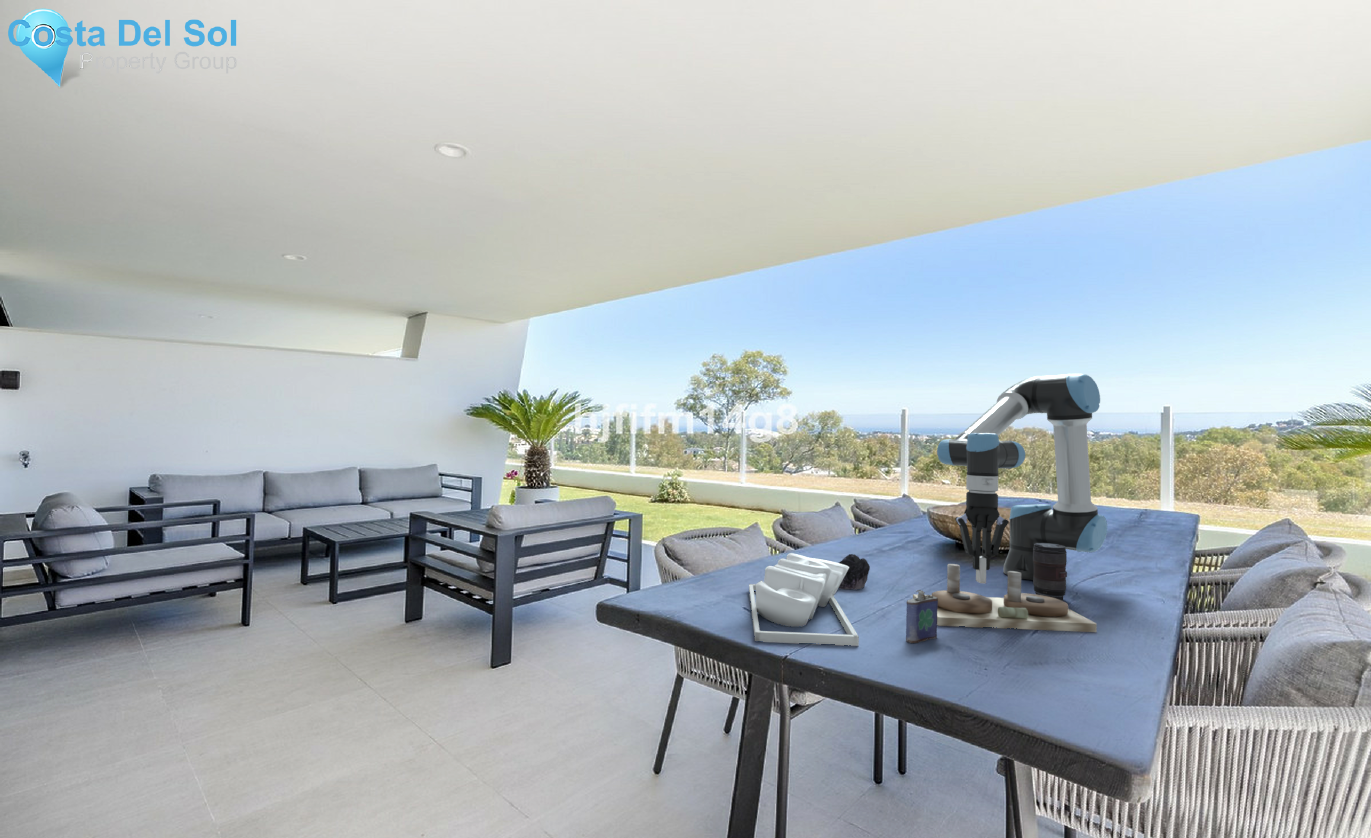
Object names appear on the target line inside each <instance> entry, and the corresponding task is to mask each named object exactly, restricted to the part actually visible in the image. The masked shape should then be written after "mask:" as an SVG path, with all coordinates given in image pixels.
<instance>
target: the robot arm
mask: <svg viewBox="0 0 1371 838" xmlns="http://www.w3.org/2000/svg"><path fill="white" fill-rule="evenodd" d="M1098 387H1099V386H1098V385H1097V383H1096V381H1095V380H1094V379H1093V378H1092V377H1091V376H1089V375H1088V374H1083V373H1067V374H1057V375H1036V376H1033V377H1032V376H1031V377H1029V378H1025V379H1023V380H1021V381H1018V382H1017V383H1015V384H1013V385H1011V386H1010V387H1008V388H1007V389H1006V390H1005V391H1003V392H1002V393H1001V394H1000V395H999V396H998V398H997V400H996V403H995V404H993V405H992V406H990V408H989V409H987V410H986V411H985V412H984V413H983V414H982V415H981V416H979V417H978V418H977V419H976V420H975V421H973V423H971V424H970V425H969V426H968V427H967V428H965V430H964V431H962V432H961V433H960V434H959V435H958V436H956V438H954V439H952V438H947V439H942V440H941V441H940V442H939V443H938V446H937V449H936V454H937V459H938V461H939V462H941V464H943V465H948V466H953V467H955V466H959V467H961V466H963V467H966V487H965V488H966V490H968V491H966V493H965V494H966V496H965V500H966V503H965V506H966V507H965V510H964V512H963V514H961V516H956V517H955V522H956V523H957V525H958V526H959V531H960V536H961V539H962V544H963V548H964V552H965V553H966V554H968V555H969V556H972V568H973V569H974V570H975V581H976V582H977V583H979V584H987V571H989V570H990V569H991V561H990V560H991V559H992V557H995V556H998V555H999V551H1000V546H1001V543H1002V540H1003V536H1004V532H1005V528H1006V527H1007V526H1008V524H1009V551H1008V554H1007V556H1006V558H1005V561H1004V564H1003V573H1004V574H1005V575H1007V576H1008V571H1015V572H1020V573H1021V580H1027V581H1028V580H1030V581H1033V577H1034V563H1033V548H1034V544H1036V543H1049V544H1058V545H1063V546H1065V549H1066V550H1069V551H1074V552H1075V551H1076V552H1078V553H1082V552H1083V553H1095V552H1097V551H1099V550H1100V549H1101V548H1102V546H1103V544H1104V542H1105V540H1106V537H1107V534H1108V520H1107V519H1106V517H1105V516H1104V515H1102V514H1099V512H1098V510H1099V509H1098V506H1097V505H1095V504H1094V503H1093V502H1092V497H1091V496H1092V494H1091V491H1092V490H1091V477H1090V476H1091V475H1090V474H1091V473H1090V462H1089V461H1090V457H1089V443H1088V428H1087V427H1088V426H1087V424H1088V423H1089V422H1090V421H1091V420H1092V419H1093V413H1096V412H1098V410H1099V408H1100V404H1101V395H1100V394H1101V393H1100V390H1099V388H1098ZM1031 414H1046V418H1047V419H1046V420H1047V421H1048V422H1049V423H1050V424H1052V426H1053V427H1052V428H1053V440H1054V444H1053V445H1054V455H1055V459H1054V460H1055V475H1056V488H1057V490H1056V491H1057V502H1055V504H1053V505H1051V504H1049V503H1048V504H1047V503H1046V504H1043V503H1040V504H1039V503H1038V504H1037V503H1036V504H1035V503H1034V504H1017V505H1013V506H1011V508H1010V513H1009V519H1006V518H1003V516H1001V515H1000V514H1001V513H1000V512H999V509H998V508H999V495H998V493H997V492H998V491H999V470H1000V469H1009V470H1012V469H1014V468H1018V467H1020V466H1021V465H1022V464H1023V463H1024V461H1025V459H1026V451H1025V448H1024V447H1023V445H1022V444H1021V443H1019V442H1017V441H1013V440H1000V438H999V437H1000V435H1001V434H1002V433H1003V432H1004V431H1005V430H1006V429H1007V428H1008V427H1010V426H1011V425H1012V424H1013V423H1014V422H1015V421H1017V420H1020V419H1023V418H1024V417H1025V416H1027V415H1031ZM968 522H969V523H970V525H971V531H972V533H971V535H970V533H969V528H968V525H967V523H968ZM995 523H996V525H995V528H994V531H993V526H994V524H995ZM992 531H993V536H992ZM981 534H982V535H981ZM970 536H971V537H970ZM971 539H972V540H971ZM981 554H982V555H981Z"/></svg>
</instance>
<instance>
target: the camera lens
mask: <svg viewBox="0 0 1371 838" xmlns="http://www.w3.org/2000/svg"><path fill="white" fill-rule="evenodd" d="M1067 558H1068V556H1067V549H1065V546H1063V545H1058V544H1049V543H1036V544H1034V548H1033V563H1034V577H1033V580H1032V581H1033V583H1032V584H1033V591H1034V592H1035V593H1034V594H1037V595H1043V596H1048V597H1052V598H1056V599H1059V600H1062V601H1064V596H1066V591H1067V590H1066V589H1067V579H1066V578H1067V577H1068V572H1067V569H1066V567H1067V563H1068V562H1067V561H1068V559H1067Z"/></svg>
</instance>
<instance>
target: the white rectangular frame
mask: <svg viewBox="0 0 1371 838" xmlns="http://www.w3.org/2000/svg"><path fill="white" fill-rule="evenodd" d="M756 584H757V583H749V585H748V592H750V594H749V601H751V603H750V610H752V611H751V619H753V620H752V628H753V635H754V636H755V637H754V636H753V637H754V642H755V641H763V642H762V643H778V644H780V643H781V644H783V643H784V644H799V643H816V644H815V645H821V644H835V645H834V646H844V645H848V646H849V645H851V646H849V647H859V645H860V644H859V643H860V641H859V640H860V638H859V637H860V636H859V635H858V633H857V632H856V629H855V628H854V627H853V625H852V623H851V621H850V620H849V619H848V617H847V615H846V613H845V612H844V611H843V609H842V607H841V606H840V603H838V601H837V599H836V598H835V595H834V596H832V595H831V597H830V599H829V601H830V602H828V603H829V605H830V607H831V606H832V607H831V608H833V609H832V610H833V612H834V611H835V612H834V614H835V615H837V616H836V618H837V619H838V621H839V620H840V621H839V623H840V622H841V623H840V625H841V626H842V628H843V627H844V628H843V629H844V631H845V634H842V633H841V634H840V633H839V634H838V633H819V632H817V633H816V632H815V633H814V632H794V631H793V632H792V631H767V630H760V625H759V624H760V623H759V618H758V613H757V610H756V595H755V592H754V590H756ZM818 643H819V644H818Z"/></svg>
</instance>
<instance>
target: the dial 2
mask: <svg viewBox="0 0 1371 838" xmlns="http://www.w3.org/2000/svg"><path fill="white" fill-rule="evenodd" d="M1006 589H1007V590H1006V591H1007V593H1006V594H1004V595H1003V598H1004V605H1005V606H1006V607H1013V608H1026V609H1027V610H1028V614H1032V615H1039V616H1064V615H1067V614H1068V609H1069V604H1068V603H1067V602H1065V601H1064V600H1063V601H1062V600H1059V599H1056V598H1052V597H1048V596H1043V595H1037V594H1035V593H1028V592H1027V593H1024V592H1022V579H1021V573H1020V572H1015V571H1008V575H1007V588H1006Z"/></svg>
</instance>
